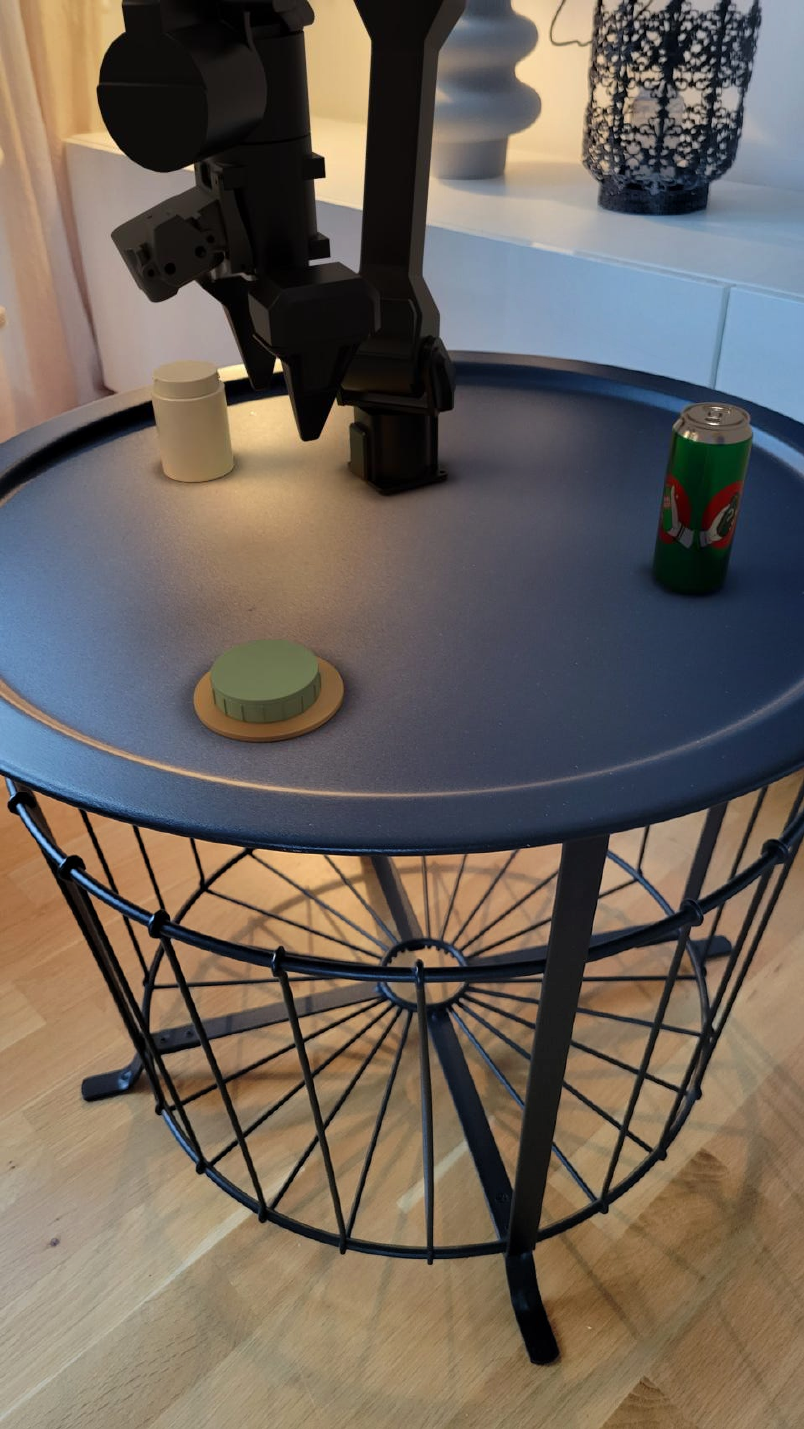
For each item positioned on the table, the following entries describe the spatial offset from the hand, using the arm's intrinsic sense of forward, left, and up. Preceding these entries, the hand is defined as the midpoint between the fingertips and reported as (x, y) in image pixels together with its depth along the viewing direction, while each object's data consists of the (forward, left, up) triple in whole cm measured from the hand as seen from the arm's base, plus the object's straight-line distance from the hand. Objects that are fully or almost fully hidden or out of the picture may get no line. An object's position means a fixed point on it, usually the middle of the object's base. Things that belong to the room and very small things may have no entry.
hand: (284, 413), depth 66 cm
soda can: (-24, +13, -13) cm, 30 cm away
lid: (+7, +11, -11) cm, 17 cm away
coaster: (+7, +11, -13) cm, 18 cm away
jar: (-1, -23, -13) cm, 26 cm away
